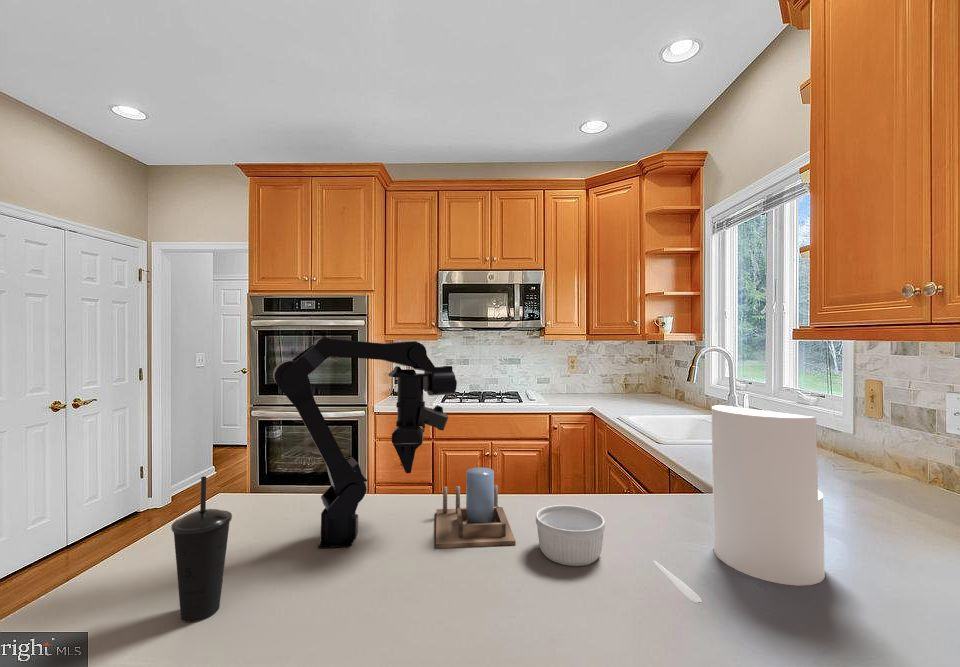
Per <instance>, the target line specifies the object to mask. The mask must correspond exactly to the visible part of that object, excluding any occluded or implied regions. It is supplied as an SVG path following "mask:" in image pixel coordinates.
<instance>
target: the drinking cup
mask: <svg viewBox="0 0 960 667" xmlns="http://www.w3.org/2000/svg"><path fill="white" fill-rule="evenodd" d="M199 502H200V507H199V510H197V511H196V510H195V511H193V512H190V513H188V514H186V515H184V516H183V517H180V518H178V519H176V520H175V521H174V522H173V523H172V524H171V527H170V528H171V531H172V533H173V538H174V541H173V542H174V551H175V562H176V565H175V566H176V575H177V586H178V598H179V610H180V619H181V621H183V622H185V623H196V622H200V621H203V620H206V619H208V618H210V617H211V616H213V615H214V614H216V613H217V612H218V611H219V610H220V605H221V598H222V587H223V580H224V570H225V562H226V556H227V555H226V554H227V547H228V539H229V538H228V537H229V530H230V522H231V521H232V519H233V514H232V512H231V511H229V510H224V509H219V508H218V509H216V508H207V505H206V504H207V476H201V477H200V501H199Z"/></svg>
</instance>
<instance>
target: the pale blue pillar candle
mask: <svg viewBox="0 0 960 667" xmlns="http://www.w3.org/2000/svg"><path fill="white" fill-rule="evenodd" d="M465 472H466V476H465V477H466V478H465V480H466V483H465V485H466V486H465V487H466V488H465V489H466V490H465V491H466V494H465V498H466V499H465V500H466V501H465V502H466V504H465V506H466V507H465V508H466V524H475V523H494V485H495V471H494V469H492V468H489V467H472V468H469V469H467V470H466V471H465Z"/></svg>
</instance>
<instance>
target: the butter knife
mask: <svg viewBox="0 0 960 667" xmlns="http://www.w3.org/2000/svg"><path fill="white" fill-rule="evenodd" d="M652 562H653V563H654V564H655V566H656V567H657V568H658V569H660V570H661V571H662V573H663V574H664V575H665V576H666V577H667V578H668V579H669V581H670V582H671V584H673V585H674V586H675V587H676V588H677V589H678V590H679V591H680V592H681V593H682V594H683V595H684V596H685V597H686V598H687V599H688V600H690V601H691V602H693V603H696V604H699V603H702V598H701V597H700V596H699V595H698V594H697V593H696V592H695V591H694V590H693V589H692V588H690V587H689V586H688V585H687V584H686V583H685V582H684V581H682V580H681V579H680V578H678V577H677V576H676V575H674V574H673V573H672V572H671V571H669V570H668V569H667V568H665V567H664V566H663V565H662V564H661V563H660V562H659V561H656V560H655V559H653V560H652Z"/></svg>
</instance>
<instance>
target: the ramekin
mask: <svg viewBox="0 0 960 667" xmlns="http://www.w3.org/2000/svg"><path fill="white" fill-rule="evenodd" d="M535 523H536V525H537V529H536V530H537V534H538V535H537V537H538V544H539V548H540V550H541V552H542V553H543V555H544V556H545V557H546V558H547V559H549V560H550V561H552V562H554V563H557V564H560V565H564V566H569V567H581V566H582V567H583V566H589V565H591V564H593V563H594V562H596V561H597V560H598V559H599V557H600V556H601V554H602V550H603V540H604V533H605V530H606V522H605V518H604V517H603V516H602V515H601V513H599V512H597V511H595V510H592V509H590V508H586V507H583V506H578V505H571V504H556V505H555V504H554V505H549V506H545V507H542V508H540V509H539V510H538V511H537V512H536V515H535Z"/></svg>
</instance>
